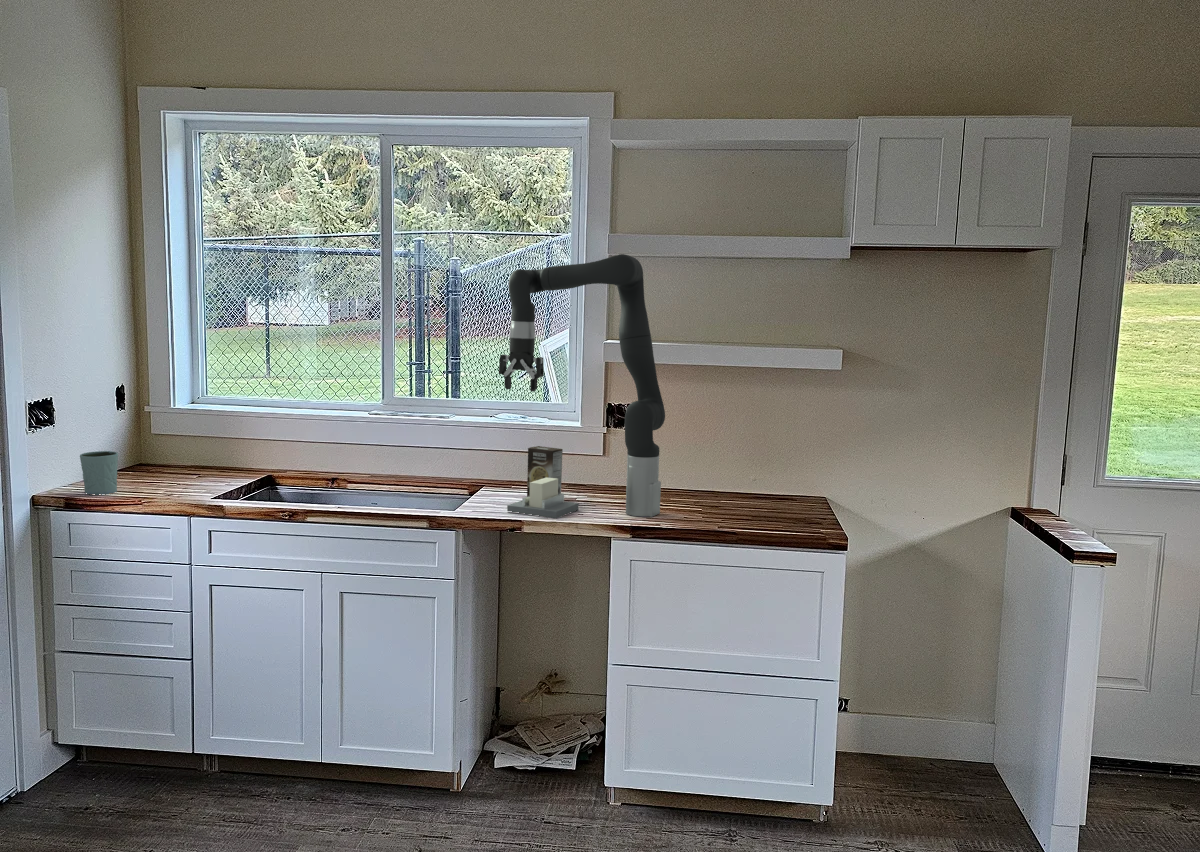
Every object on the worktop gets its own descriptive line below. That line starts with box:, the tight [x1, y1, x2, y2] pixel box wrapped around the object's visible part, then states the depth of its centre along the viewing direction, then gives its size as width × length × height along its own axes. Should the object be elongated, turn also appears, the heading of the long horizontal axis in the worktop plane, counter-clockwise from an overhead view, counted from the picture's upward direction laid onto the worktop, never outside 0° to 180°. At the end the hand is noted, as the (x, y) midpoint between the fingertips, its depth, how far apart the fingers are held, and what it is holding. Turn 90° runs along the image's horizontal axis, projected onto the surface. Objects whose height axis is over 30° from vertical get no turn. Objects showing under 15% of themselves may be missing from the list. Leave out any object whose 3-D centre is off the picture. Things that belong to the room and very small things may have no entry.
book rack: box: [506, 493, 580, 519], centre depth 280 cm, size 16×14×4 cm
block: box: [529, 477, 558, 508], centre depth 280 cm, size 4×10×7 cm, turn 155°
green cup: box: [79, 450, 119, 495], centre depth 289 cm, size 10×10×12 cm
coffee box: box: [526, 445, 563, 497], centre depth 296 cm, size 9×6×16 cm
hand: (520, 390), depth 292 cm, fingers open, 8 cm apart
